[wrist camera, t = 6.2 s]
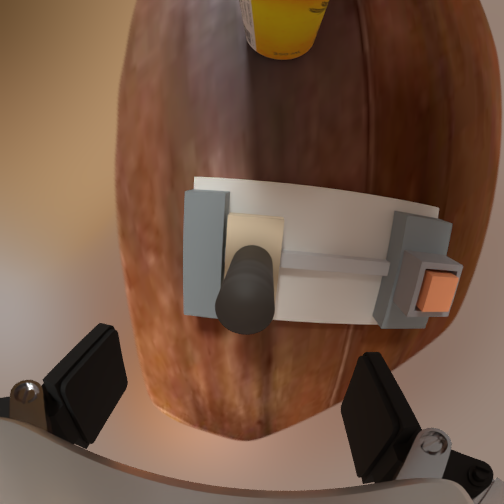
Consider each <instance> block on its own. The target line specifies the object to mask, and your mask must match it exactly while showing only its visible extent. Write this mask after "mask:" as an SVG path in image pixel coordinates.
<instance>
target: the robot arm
mask: <svg viewBox="0 0 504 504" xmlns="http://www.w3.org/2000/svg"><path fill="white" fill-rule="evenodd" d="M43 382H44V384H43V385H42V386H41V385H40V384H39V383H38V382H36V381H33V380H24V381H20V382H18V383H17V384H15V385H14V386H13V388H12V389H11V393H10V397H4V398H0V504H504V482H503V481H502V480H500V479H499V478H496V479H495V480H494V479H493V471H492V469H491V467H490V466H489V465H488V464H487V463H485V462H484V461H481V460H478V459H475V458H472V457H470V456H467V455H464V454H461V453H459V452H456V451H454V450H451V445H452V443H451V440H450V438H449V436H448V435H447V434H446V433H445V432H443V431H442V430H440V429H436V428H427V429H423V430H422V429H421V427H420V425H419V423H418V421H417V419H416V417H415V415H414V413H413V412H412V409H411V408H410V406H409V404H408V402H407V400H406V398H405V396H404V395H403V393H402V391H401V389H400V387H399V386H398V384H397V382H396V380H395V378H394V377H393V375H392V373H391V371H390V369H389V368H388V366H387V364H386V362H385V361H384V359H383V357H382V355H381V354H380V353H379V352H365V353H364V354H363V356H360V357H359V358H358V361H357V364H356V367H355V370H354V373H353V376H352V379H351V381H350V384H349V387H348V389H347V392H346V395H345V397H344V400H343V402H342V405H341V414H342V417H343V421H344V425H345V429H346V433H347V437H348V441H349V445H350V449H351V453H352V457H353V461H354V465H355V469H356V473H357V476H358V477H361V478H362V482H363V484H365V483H371V482H375V483H374V484H368V485H361V486H354V487H346V488H335V489H323V490H307V491H266V490H249V489H237V488H227V487H219V486H212V485H206V484H200V483H194V482H189V481H184V480H179V479H174V478H170V477H165V476H162V475H158V474H154V473H151V472H147V471H143V470H140V469H137V468H134V467H130V466H127V465H124V464H121V463H118V462H116V461H113V460H110V459H107V458H105V457H102V456H100V455H97V454H94V453H92V452H90V451H88V450H85V449H87V447H88V446H89V444H92V443H94V441H95V440H96V438H97V436H98V434H99V433H100V431H101V429H102V428H103V426H104V424H105V423H106V421H107V419H108V418H109V416H110V414H111V413H112V411H113V409H114V408H115V406H116V404H117V403H118V401H119V400H120V398H121V396H122V394H123V393H124V391H125V390H126V387H127V383H128V381H127V376H126V372H125V367H124V363H123V358H122V353H121V348H120V342H119V337H118V332H117V331H116V330H115V329H114V327H113V326H111V325H106V324H102V323H99V324H98V325H97V326H96V327H95V328H94V329H93V330H92V331H91V332H89V334H88V335H86V336H85V337H84V338H83V339H82V340H81V341H80V342H79V343H78V344H77V345H76V346H75V347H74V348H73V349H72V350H71V351H70V352H69V353H68V354H67V355H66V356H65V357H64V358H63V359H62V360H61V361H60V363H58V364H57V365H56V366H55V367H54V368H53V369H52V370H51V371H50V372H49V373H48V375H47V376H46V377H45V378H44V379H43ZM74 444H76V445H79V446H81V447H83V448H85V449H83V448H81V447H78V446H76V445H74Z"/></svg>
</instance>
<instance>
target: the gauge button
mask: <svg viewBox="0 0 504 504" xmlns="http://www.w3.org/2000/svg"><path fill="white" fill-rule="evenodd" d="M458 280H459V278H458V277H457V276H455V275H453V274H452V273H450V272H449V271H447V270H437V269H426V270H425V274H424V278H423V281H422V285H421V289H420V292H419V296H418V299H417V303H416V306H417V307H418V308H419V309H420V310H421V311H422V312H449V309H450V306H451V303H452V300H453V297H454V293H455V290H456V287H457V283H458Z"/></svg>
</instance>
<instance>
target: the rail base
mask: <svg viewBox="0 0 504 504" xmlns="http://www.w3.org/2000/svg"><path fill="white" fill-rule="evenodd" d="M230 212H233V213H245V214H257V215H268V216H279V217H284V230H283V239H282V249H281V257H280V266H279V275H278V283H277V291H276V300H275V313H274V317H273V319H272V320H284V321H298V322H315V323H336V324H372V325H379V326H380V328H381V329H408V328H425V326H426V323H427V321H428V318H429V317H444V316H448V314H449V312H422V311H421V310H420V309H419V308H418V307H417V306H416V303H417V299H418V296H419V292H420V289H421V285H422V281H423V278H424V274H425V270H426V269H437V270H447V271H449V272H450V273H452V274H453V275H455V276H457V277H458V278H459V279H460V276H461V272H462V268H463V265H461V264H459V263H458V262H456V261H454V260H452V259H451V258H449V257H447V256H446V254H447V250H448V245H449V240H450V235H451V230H452V223H450V222H447V221H444V220H441V219H438V214H439V208H438V207H434V206H430V205H425V204H420V203H416V202H411V201H405V200H400V199H395V198H389V197H384V196H378V195H372V194H366V193H359V192H353V191H346V190H339V189H332V188H324V187H316V186H308V185H299V184H290V183H280V182H269V181H258V180H245V179H231V178H213V177H194V189H193V190H188V191H185V202H184V235H183V296H184V314H185V315H192V316H200V317H208V318H216V319H218V318H217V315H216V312H215V302H216V299H217V296H218V294H219V291H220V289H221V286H222V284H223V281H224V273H225V254H226V236H227V219H228V214H229V213H230ZM458 283H459V280H458ZM458 283H457V286H458ZM456 290H457V287H456ZM456 290H455V293H456ZM455 293H454V296H455ZM453 299H454V297H453ZM452 302H453V300H452ZM451 306H452V303H451ZM451 306H450V308H451ZM449 311H450V309H449Z"/></svg>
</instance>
